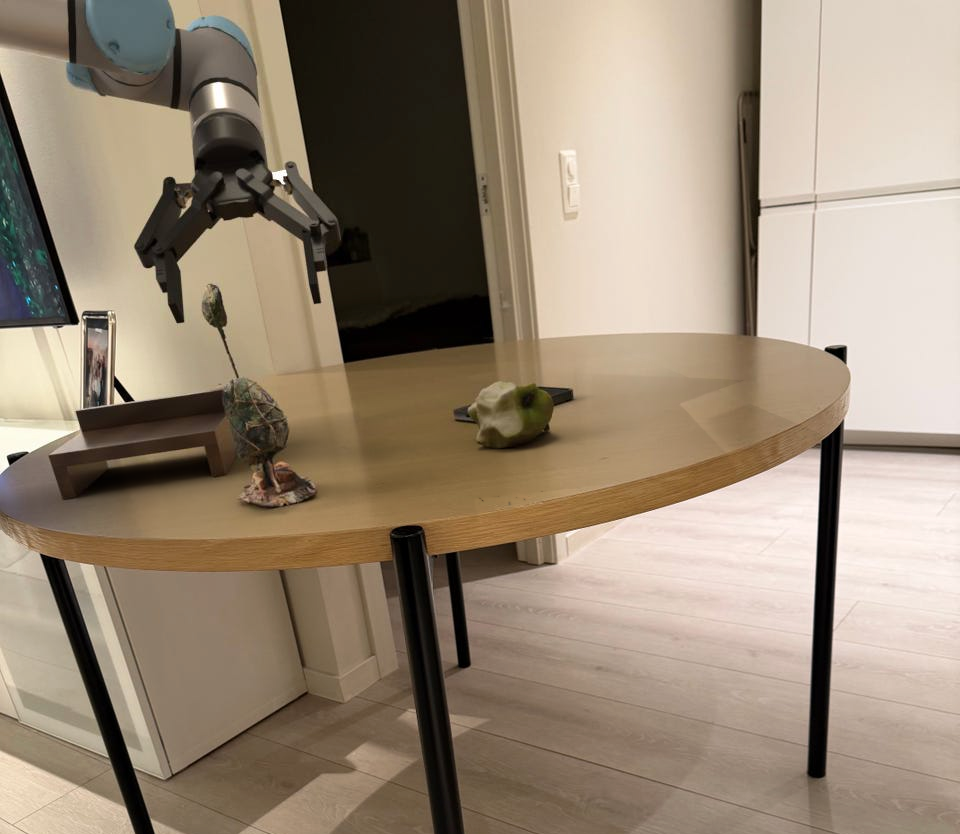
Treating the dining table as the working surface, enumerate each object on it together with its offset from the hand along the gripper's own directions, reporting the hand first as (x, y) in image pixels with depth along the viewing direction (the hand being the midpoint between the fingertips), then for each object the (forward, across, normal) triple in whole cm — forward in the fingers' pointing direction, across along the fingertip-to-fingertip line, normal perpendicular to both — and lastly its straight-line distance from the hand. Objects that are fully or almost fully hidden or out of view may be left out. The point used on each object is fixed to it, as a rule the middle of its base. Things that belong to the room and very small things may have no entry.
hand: (246, 304), depth 87 cm
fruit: (+12, -25, -13) cm, 31 cm away
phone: (-1, -28, -26) cm, 38 cm away
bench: (+3, +16, -22) cm, 27 cm away
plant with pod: (+18, 0, -7) cm, 20 cm away
